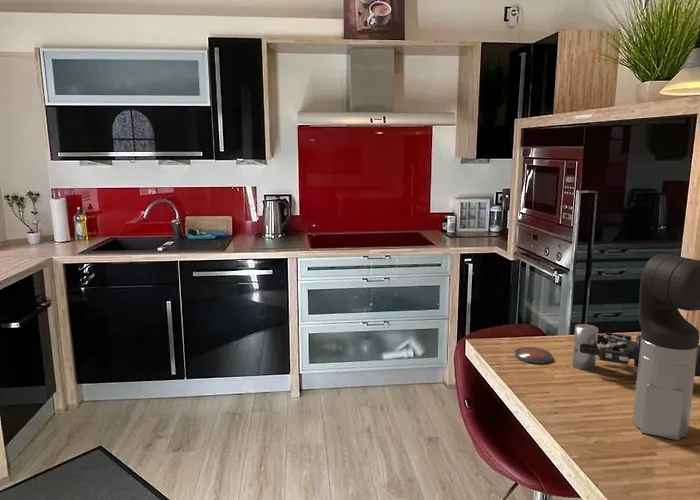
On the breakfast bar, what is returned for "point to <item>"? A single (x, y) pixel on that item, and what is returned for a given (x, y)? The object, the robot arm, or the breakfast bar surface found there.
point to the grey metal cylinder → (587, 336)
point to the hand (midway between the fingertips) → (582, 342)
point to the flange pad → (533, 355)
